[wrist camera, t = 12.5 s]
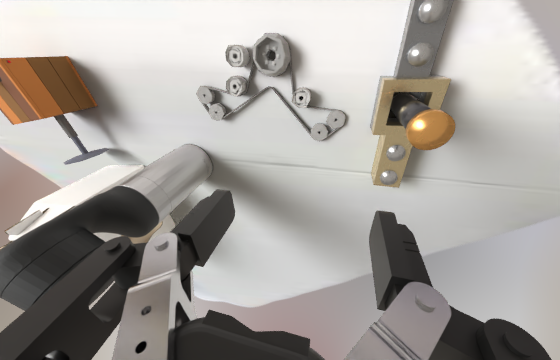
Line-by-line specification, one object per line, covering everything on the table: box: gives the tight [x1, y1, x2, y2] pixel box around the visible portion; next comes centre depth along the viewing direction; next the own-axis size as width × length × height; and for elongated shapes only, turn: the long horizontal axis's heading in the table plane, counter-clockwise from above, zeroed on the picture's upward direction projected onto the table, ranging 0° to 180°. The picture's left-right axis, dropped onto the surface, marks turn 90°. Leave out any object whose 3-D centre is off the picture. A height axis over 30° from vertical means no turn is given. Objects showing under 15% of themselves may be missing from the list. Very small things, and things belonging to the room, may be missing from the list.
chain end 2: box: [371, 77, 451, 187], centre depth 32 cm, size 8×17×4 cm, turn 2°
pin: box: [390, 92, 455, 150], centre depth 26 cm, size 4×4×13 cm
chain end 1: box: [370, 0, 453, 130], centre depth 28 cm, size 8×17×3 cm, turn 2°
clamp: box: [0, 56, 109, 164], centre depth 43 cm, size 11×20×14 cm, turn 11°
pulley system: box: [196, 33, 345, 141], centre depth 34 cm, size 27×5×15 cm
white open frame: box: [0, 165, 176, 281], centre depth 50 cm, size 22×13×28 cm, turn 8°
